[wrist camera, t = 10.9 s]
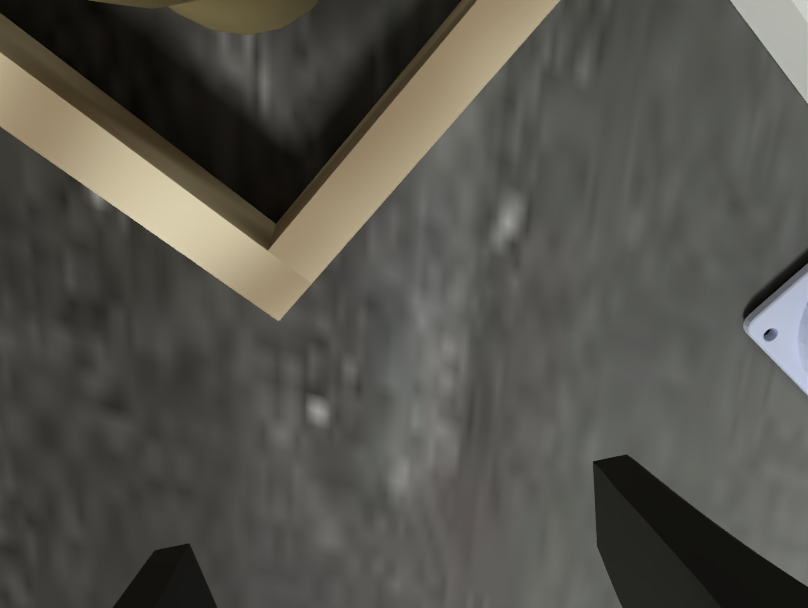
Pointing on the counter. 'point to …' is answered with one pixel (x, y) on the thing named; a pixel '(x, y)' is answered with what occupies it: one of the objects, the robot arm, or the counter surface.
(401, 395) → the counter surface
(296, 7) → the cork
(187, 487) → the counter surface
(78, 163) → the wooden square frame
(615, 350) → the counter surface
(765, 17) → the white picture frame
